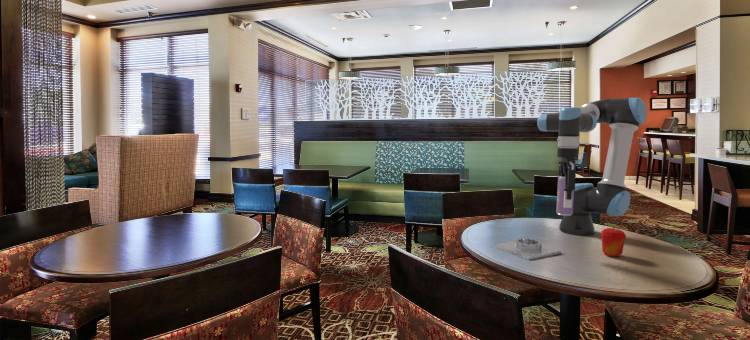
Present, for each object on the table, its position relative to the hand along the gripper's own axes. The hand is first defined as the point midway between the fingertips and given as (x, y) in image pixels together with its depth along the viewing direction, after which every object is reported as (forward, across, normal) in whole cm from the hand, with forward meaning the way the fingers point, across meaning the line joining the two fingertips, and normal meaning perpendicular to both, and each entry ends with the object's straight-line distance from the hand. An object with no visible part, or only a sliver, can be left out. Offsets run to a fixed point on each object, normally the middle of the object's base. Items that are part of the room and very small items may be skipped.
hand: (564, 205), depth 163 cm
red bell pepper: (+19, +1, +18) cm, 27 cm away
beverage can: (+4, 0, 0) cm, 4 cm away
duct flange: (+19, -2, -13) cm, 23 cm away
